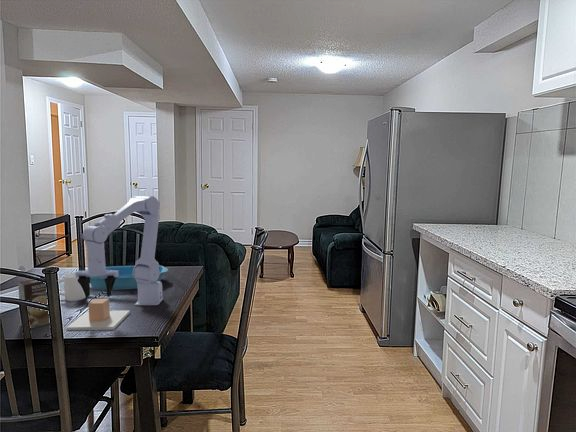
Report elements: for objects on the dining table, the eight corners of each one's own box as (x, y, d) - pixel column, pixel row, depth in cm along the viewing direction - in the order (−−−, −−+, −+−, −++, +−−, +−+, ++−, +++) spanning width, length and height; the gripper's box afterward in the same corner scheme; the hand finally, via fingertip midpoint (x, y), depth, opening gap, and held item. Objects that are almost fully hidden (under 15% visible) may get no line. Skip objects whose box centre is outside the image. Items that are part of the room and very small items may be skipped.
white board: (129, 312, 158) (129, 297, 157) (113, 329, 142) (112, 312, 141) (87, 313, 157) (86, 298, 157) (66, 330, 142) (65, 313, 141)
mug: (52, 302, 170) (50, 278, 168) (59, 296, 178) (57, 273, 176) (83, 300, 172) (82, 276, 171) (89, 294, 180) (87, 271, 179)
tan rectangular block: (109, 315, 152) (108, 298, 151) (104, 321, 147) (103, 303, 146) (95, 315, 152) (94, 298, 151) (89, 321, 147) (88, 303, 146)
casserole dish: (170, 276, 210) (170, 263, 209) (165, 289, 188) (165, 274, 187) (93, 280, 203) (92, 266, 202) (79, 294, 181) (78, 278, 180)
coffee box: (27, 330, 142) (23, 285, 140) (20, 325, 146) (16, 281, 144) (55, 322, 149) (52, 279, 147) (48, 318, 153) (45, 276, 151)
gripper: (70, 262, 143) (72, 299, 144) (112, 261, 143) (114, 299, 145) (79, 257, 150) (82, 293, 151) (120, 257, 150) (121, 293, 152)
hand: (98, 296), depth 149 cm, fingers open, 7 cm apart
